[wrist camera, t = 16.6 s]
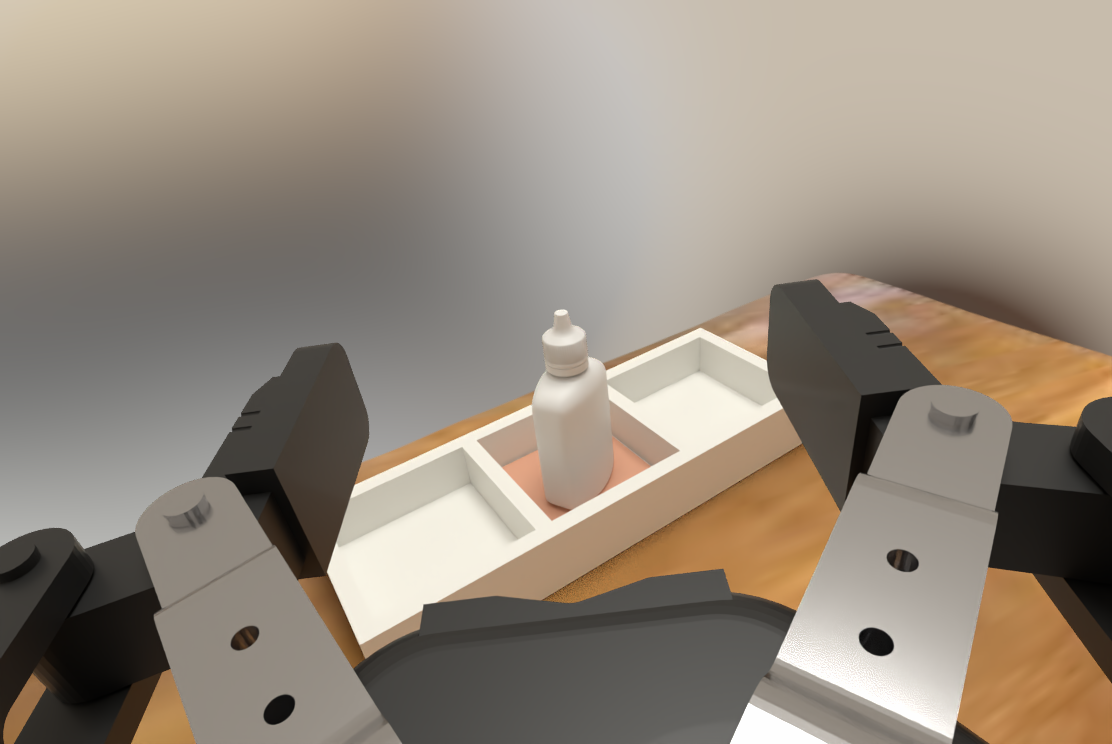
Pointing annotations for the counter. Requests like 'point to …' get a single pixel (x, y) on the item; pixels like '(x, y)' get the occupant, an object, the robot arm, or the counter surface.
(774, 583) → the counter surface
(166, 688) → the counter surface
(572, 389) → the eye dropper bottle
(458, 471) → the rack
